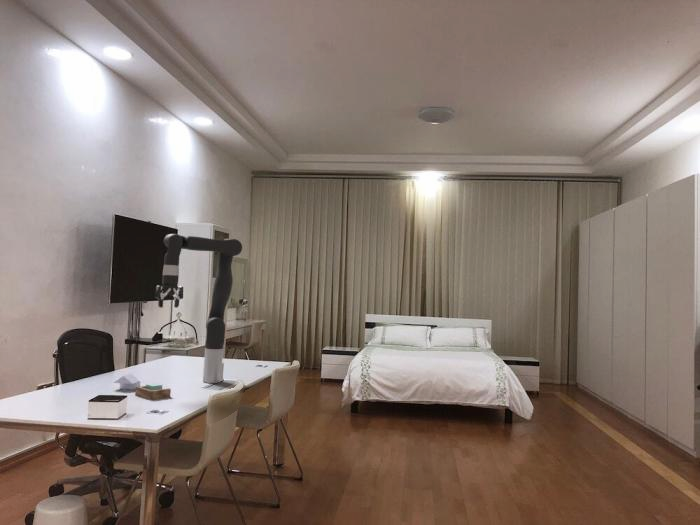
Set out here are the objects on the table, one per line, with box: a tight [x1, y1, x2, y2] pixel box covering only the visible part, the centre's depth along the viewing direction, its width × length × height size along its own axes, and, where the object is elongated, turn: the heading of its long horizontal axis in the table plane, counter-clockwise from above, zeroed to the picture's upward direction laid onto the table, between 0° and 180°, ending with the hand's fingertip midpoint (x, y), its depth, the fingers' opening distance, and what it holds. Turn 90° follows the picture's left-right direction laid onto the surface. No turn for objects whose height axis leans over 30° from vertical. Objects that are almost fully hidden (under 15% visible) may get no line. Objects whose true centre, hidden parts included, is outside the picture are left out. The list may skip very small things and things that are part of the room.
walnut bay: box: [134, 385, 172, 401], centre depth 248 cm, size 10×12×4 cm
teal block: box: [145, 383, 163, 390], centre depth 248 cm, size 5×5×5 cm
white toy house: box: [113, 372, 141, 390], centre depth 262 cm, size 9×7×13 cm
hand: (168, 307), depth 273 cm, fingers open, 8 cm apart
